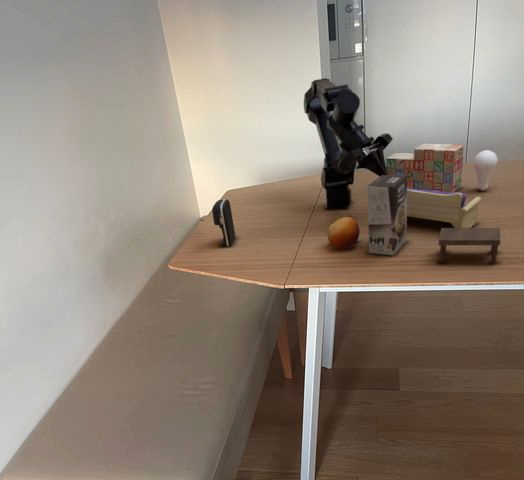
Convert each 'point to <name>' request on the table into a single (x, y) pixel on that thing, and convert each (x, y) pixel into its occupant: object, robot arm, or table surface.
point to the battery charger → (224, 221)
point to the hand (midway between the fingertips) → (386, 177)
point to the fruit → (343, 233)
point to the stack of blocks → (429, 167)
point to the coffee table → (469, 239)
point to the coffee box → (387, 214)
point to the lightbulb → (485, 167)
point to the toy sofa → (442, 207)
